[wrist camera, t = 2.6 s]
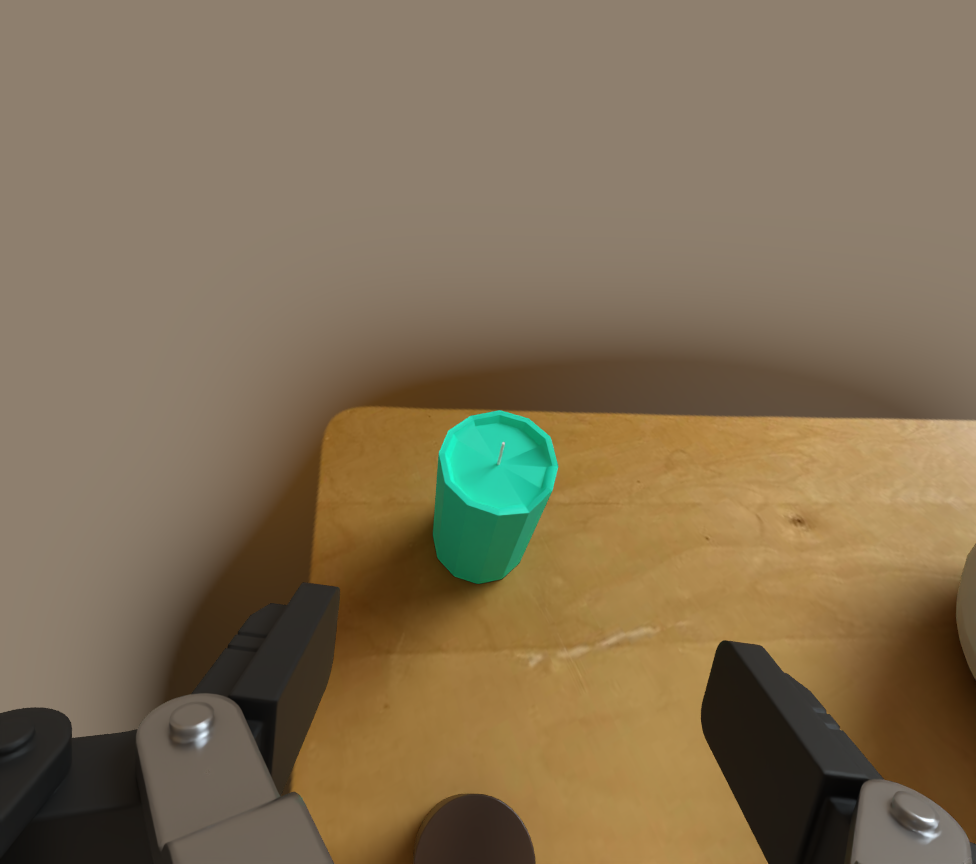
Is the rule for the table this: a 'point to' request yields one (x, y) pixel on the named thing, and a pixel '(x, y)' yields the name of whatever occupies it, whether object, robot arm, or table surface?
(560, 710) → the table surface
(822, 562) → the table surface
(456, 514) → the candle
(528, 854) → the walnut post
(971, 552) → the bowl
